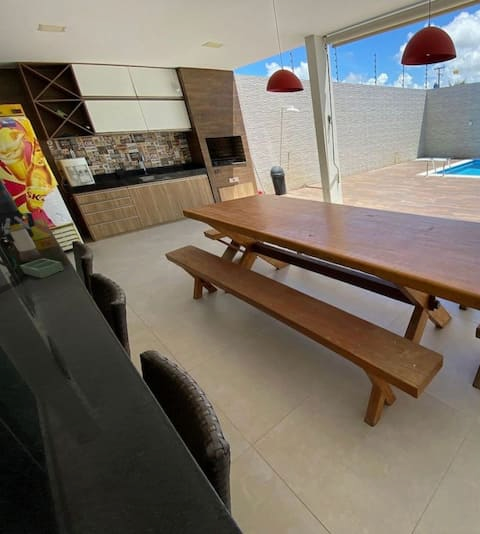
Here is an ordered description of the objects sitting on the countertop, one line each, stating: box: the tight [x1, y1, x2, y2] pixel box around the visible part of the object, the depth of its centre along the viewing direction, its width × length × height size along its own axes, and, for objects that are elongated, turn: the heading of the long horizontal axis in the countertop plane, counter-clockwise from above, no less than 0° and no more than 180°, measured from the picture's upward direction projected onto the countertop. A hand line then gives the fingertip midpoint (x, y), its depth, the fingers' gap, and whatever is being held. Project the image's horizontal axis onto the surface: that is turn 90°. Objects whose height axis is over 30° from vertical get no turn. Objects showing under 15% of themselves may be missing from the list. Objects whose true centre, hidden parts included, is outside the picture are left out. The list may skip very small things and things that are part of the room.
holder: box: [19, 257, 66, 279], centre depth 139 cm, size 8×16×4 cm, turn 66°
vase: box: [19, 248, 42, 263], centre depth 149 cm, size 7×7×9 cm
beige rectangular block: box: [9, 227, 37, 253], centre depth 134 cm, size 6×6×9 cm
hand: (21, 239), depth 134 cm, fingers closed on beige rectangular block, 5 cm apart
